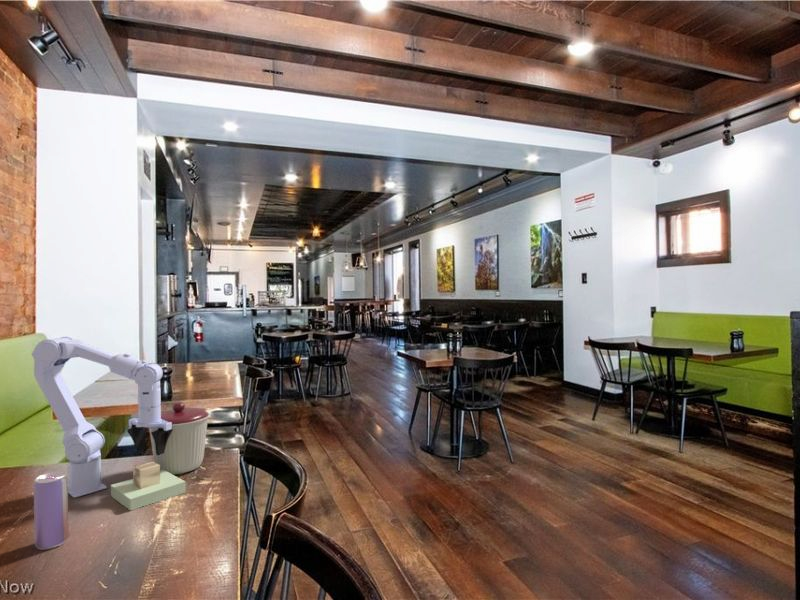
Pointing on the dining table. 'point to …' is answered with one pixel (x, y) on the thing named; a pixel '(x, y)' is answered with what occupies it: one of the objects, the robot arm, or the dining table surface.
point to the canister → (183, 439)
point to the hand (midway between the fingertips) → (150, 452)
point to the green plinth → (147, 491)
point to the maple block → (146, 474)
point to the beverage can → (51, 510)
